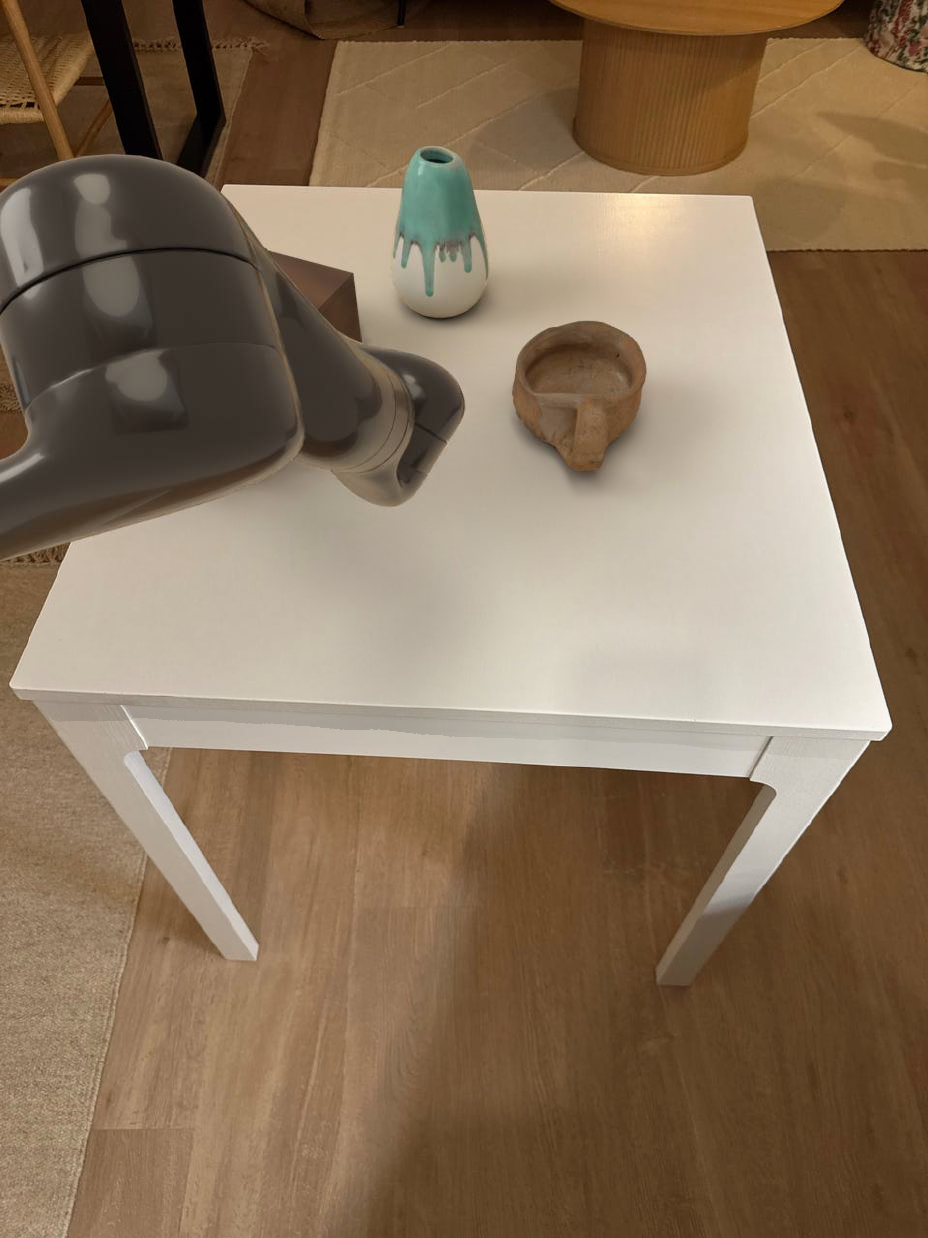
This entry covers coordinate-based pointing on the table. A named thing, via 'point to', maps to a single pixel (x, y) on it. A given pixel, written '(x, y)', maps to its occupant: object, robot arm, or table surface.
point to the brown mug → (579, 388)
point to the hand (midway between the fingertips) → (140, 249)
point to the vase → (439, 237)
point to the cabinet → (325, 291)
